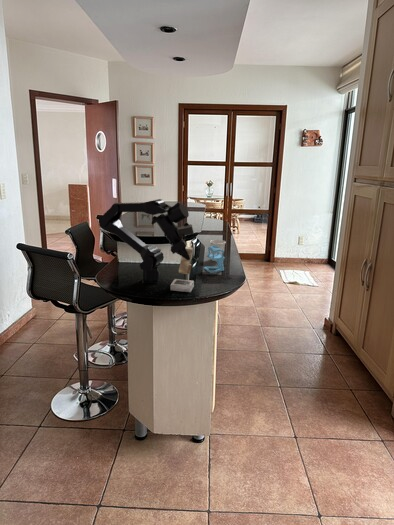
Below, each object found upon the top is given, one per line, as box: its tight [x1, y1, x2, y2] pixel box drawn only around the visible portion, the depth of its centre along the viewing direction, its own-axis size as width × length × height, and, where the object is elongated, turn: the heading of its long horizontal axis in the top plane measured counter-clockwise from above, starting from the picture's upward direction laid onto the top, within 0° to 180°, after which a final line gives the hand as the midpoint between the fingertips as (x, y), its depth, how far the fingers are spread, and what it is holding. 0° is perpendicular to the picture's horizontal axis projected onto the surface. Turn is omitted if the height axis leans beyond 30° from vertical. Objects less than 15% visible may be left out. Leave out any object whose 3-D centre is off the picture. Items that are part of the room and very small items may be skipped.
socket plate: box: [170, 278, 195, 293], centre depth 152 cm, size 8×7×2 cm
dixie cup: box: [209, 239, 227, 262], centre depth 193 cm, size 8×8×10 cm
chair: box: [204, 245, 226, 274], centre depth 175 cm, size 8×8×12 cm
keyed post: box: [178, 245, 193, 275], centre depth 155 cm, size 5×4×11 cm
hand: (189, 258), depth 154 cm, fingers closed on keyed post, 3 cm apart
